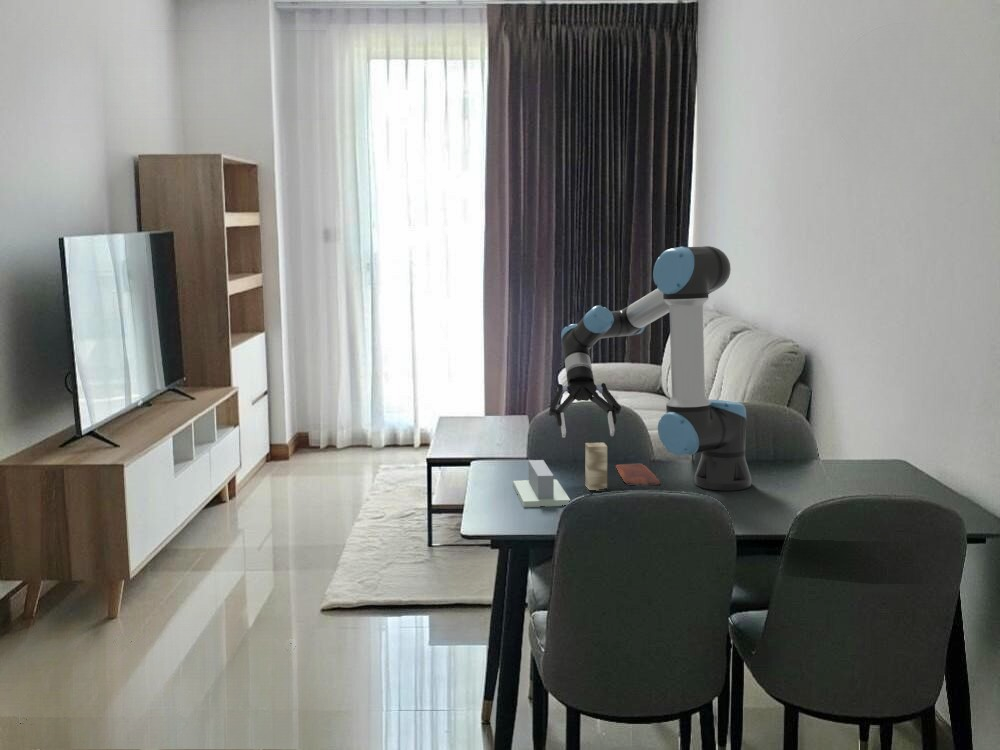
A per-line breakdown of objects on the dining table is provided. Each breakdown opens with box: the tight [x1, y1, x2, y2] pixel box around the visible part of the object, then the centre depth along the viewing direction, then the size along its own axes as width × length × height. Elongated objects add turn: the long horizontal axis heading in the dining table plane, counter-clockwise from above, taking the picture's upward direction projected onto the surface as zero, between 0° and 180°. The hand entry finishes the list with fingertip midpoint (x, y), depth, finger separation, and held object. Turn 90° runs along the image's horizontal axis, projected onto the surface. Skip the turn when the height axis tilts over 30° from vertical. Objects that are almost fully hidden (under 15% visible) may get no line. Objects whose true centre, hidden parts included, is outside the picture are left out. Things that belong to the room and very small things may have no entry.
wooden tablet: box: [615, 462, 661, 486], centre depth 312 cm, size 27×10×2 cm, turn 2°
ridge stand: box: [512, 459, 571, 508], centre depth 289 cm, size 22×12×8 cm, turn 6°
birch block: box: [584, 441, 608, 491], centre depth 296 cm, size 5×5×12 cm
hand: (588, 434), depth 303 cm, fingers open, 13 cm apart
